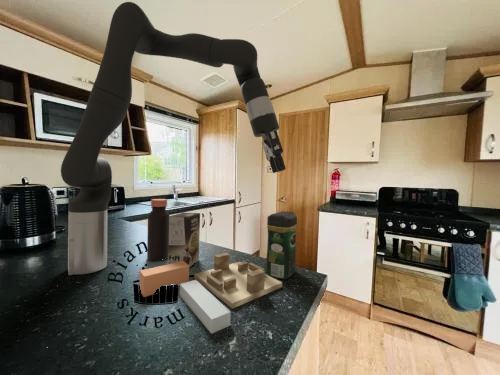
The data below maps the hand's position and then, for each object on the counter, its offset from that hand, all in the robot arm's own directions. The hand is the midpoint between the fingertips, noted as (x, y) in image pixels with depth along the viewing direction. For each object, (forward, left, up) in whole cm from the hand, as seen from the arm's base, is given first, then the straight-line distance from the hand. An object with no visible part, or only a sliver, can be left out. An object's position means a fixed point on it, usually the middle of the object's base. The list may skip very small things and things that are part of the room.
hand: (279, 171), depth 63 cm
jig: (-12, +3, -30) cm, 33 cm away
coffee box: (-18, +23, -31) cm, 42 cm away
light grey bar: (-25, -2, -31) cm, 39 cm away
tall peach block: (-28, +12, -31) cm, 43 cm away
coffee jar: (+2, 0, -31) cm, 31 cm away
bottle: (-23, +33, -31) cm, 50 cm away
